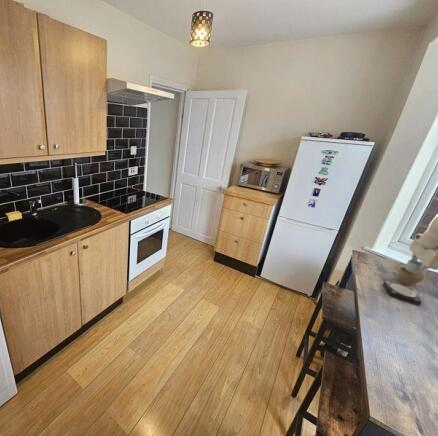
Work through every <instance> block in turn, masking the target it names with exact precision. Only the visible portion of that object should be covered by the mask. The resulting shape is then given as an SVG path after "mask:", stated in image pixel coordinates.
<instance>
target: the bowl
mask: <svg viewBox="0 0 438 436" xmlns="http://www.w3.org/2000/svg"><path fill="white" fill-rule="evenodd" d="M422 264H423V263H422V262H421V261H420V260H417V261H416V260H411V259H408V260H407V262H406V264H405V265H404V267H405V269H406V270H408V271H409V272H411V273H414V274H418V275H425V274H426V272H427V271H428V269H426V270H425V271H424V272H419V271H418V270H417V269H418V268H419V267H421V266H422Z"/></svg>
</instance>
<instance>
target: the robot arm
mask: <svg viewBox="0 0 438 436" xmlns="http://www.w3.org/2000/svg"><path fill="white" fill-rule="evenodd" d="M409 251H410V252H411V253H412V255H411V259H410V260H416V261H419V262H422V263H423V264H422V266H421V267H419V268H418V269H417V270H418V271H419V272H424V271H425V270H426V269H427V270H429V269H432V270H434V271H437V270H438V214H436V215H435V217H434V218H433V219H432V220H431V222H430V223H429V225H428V228H427V230H425V231H424V232H423V233H422V234H421V233H416V234H415V235H414V239H413V240H412V241H411V244H410V245H409Z"/></svg>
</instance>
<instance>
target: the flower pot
mask: <svg viewBox="0 0 438 436" xmlns="http://www.w3.org/2000/svg"><path fill="white" fill-rule="evenodd" d="M396 276H397V280H398V281H399V283H401V284H403V285H406V286H414V285H416V284H419V283H420V282H422V281H423V280H424V279H425V278H426V276H425V274H423V275H418V274H414V273H411V272H409V271H408V270H406V269H405V266H399V267H398V270H397V275H396Z"/></svg>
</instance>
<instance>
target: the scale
mask: <svg viewBox="0 0 438 436" xmlns="http://www.w3.org/2000/svg"><path fill="white" fill-rule="evenodd" d="M382 286H383V287H384V289H385V291H386V292H387V294H388V296H389V297H391V298H393V299H397V300H400V301H403V302H407V303H409V304H413V305H415V306H420V305H421V304H422V302H423V301H422V300H421V298H419V296H418V295H417V294H416V293H417V292H416V291H414V289H413V288H411V287H407V286H404V285H402V284H398V283H395V282H390V281H387V280H384V281H383V283H382Z"/></svg>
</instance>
